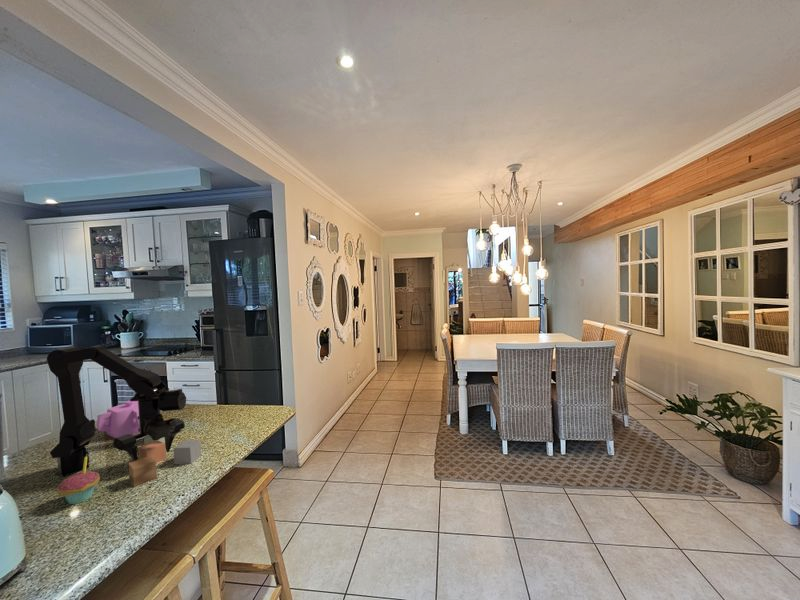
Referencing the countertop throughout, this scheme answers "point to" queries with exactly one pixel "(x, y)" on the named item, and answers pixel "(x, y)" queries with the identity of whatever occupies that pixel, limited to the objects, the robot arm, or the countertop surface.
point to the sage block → (149, 440)
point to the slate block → (187, 452)
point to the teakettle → (120, 420)
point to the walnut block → (142, 471)
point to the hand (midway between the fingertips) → (152, 458)
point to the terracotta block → (153, 451)
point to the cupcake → (79, 485)
